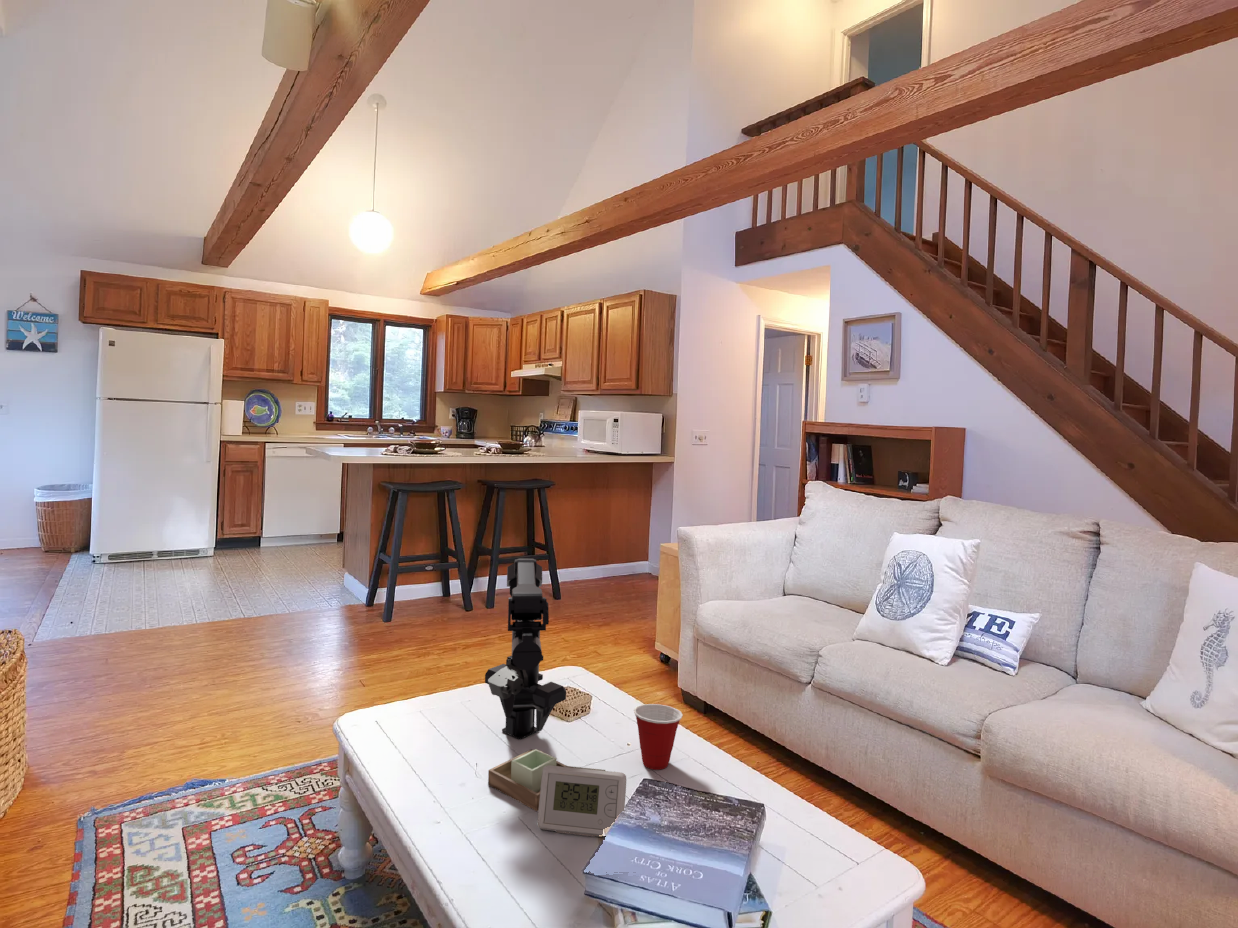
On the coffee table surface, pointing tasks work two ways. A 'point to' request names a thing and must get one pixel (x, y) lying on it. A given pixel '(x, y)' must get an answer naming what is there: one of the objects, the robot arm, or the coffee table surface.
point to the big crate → (514, 784)
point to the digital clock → (580, 799)
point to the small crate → (531, 769)
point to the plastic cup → (656, 733)
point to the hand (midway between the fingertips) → (523, 724)
